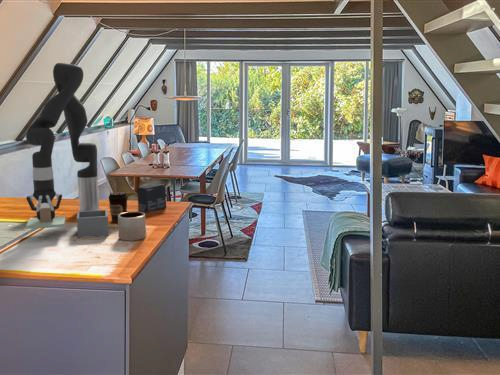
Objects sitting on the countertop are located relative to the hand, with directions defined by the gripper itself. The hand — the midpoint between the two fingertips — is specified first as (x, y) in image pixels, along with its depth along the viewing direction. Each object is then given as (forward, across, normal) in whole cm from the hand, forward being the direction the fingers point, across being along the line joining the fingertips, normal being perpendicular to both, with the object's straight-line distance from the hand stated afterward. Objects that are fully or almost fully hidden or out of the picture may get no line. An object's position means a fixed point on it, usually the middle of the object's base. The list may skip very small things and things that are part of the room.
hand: (46, 219), depth 205 cm
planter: (+7, -33, +11) cm, 36 cm away
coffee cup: (+7, -29, -16) cm, 34 cm away
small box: (+7, -46, -36) cm, 59 cm away
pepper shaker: (+7, +4, -36) cm, 37 cm away
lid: (+2, 0, 0) cm, 2 cm away
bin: (+7, -18, 0) cm, 19 cm away
